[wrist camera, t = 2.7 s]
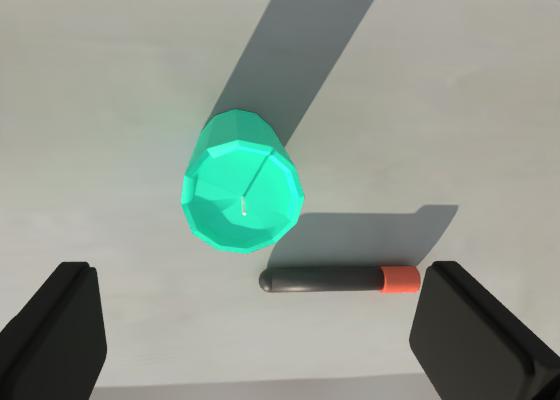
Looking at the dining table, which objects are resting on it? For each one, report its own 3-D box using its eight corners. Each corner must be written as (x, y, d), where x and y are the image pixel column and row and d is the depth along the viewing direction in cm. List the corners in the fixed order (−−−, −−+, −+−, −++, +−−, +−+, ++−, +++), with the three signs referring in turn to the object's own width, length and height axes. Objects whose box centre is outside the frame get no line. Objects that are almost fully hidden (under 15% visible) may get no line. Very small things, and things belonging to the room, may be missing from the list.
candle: (276, 106, 26) (310, 143, 15) (279, 184, 28) (310, 264, 17) (192, 111, 26) (164, 153, 15) (202, 190, 28) (184, 278, 17)
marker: (257, 285, 32) (259, 301, 30) (258, 262, 31) (260, 277, 29) (405, 282, 34) (417, 297, 32) (410, 261, 33) (423, 275, 31)
